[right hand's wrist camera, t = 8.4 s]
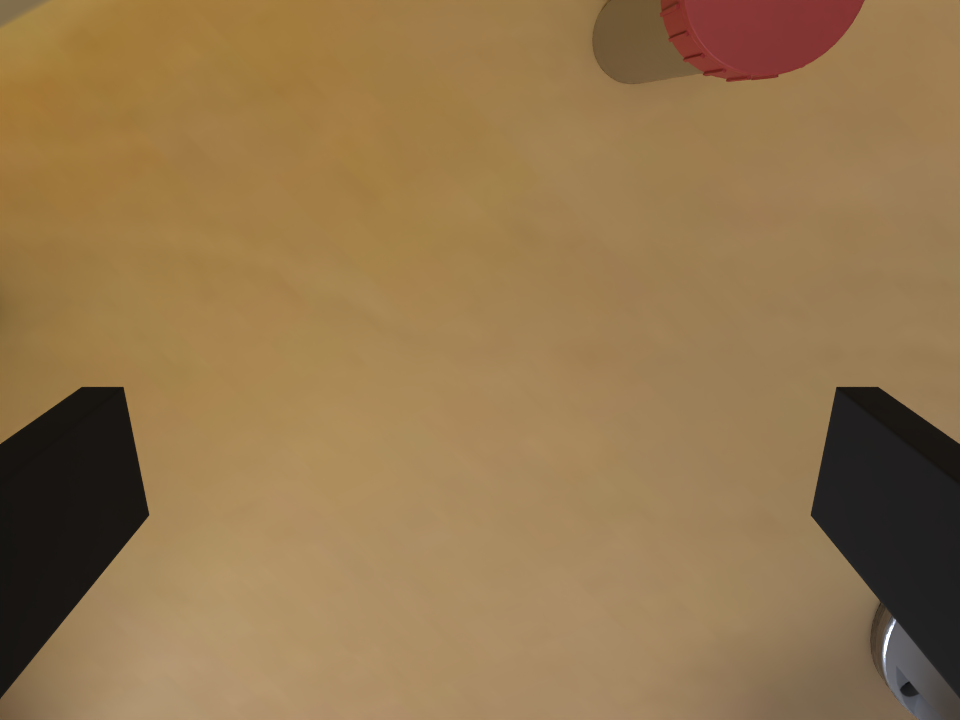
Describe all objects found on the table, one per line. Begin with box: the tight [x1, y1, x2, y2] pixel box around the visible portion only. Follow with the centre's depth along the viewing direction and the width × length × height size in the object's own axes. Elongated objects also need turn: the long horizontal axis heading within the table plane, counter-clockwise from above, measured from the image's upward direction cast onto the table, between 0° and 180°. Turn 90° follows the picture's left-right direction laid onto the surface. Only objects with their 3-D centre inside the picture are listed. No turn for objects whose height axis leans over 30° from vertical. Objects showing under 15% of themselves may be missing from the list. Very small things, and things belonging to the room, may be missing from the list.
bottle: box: [593, 0, 704, 84], centre depth 25 cm, size 4×4×16 cm
